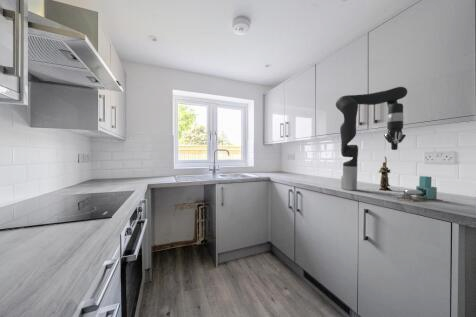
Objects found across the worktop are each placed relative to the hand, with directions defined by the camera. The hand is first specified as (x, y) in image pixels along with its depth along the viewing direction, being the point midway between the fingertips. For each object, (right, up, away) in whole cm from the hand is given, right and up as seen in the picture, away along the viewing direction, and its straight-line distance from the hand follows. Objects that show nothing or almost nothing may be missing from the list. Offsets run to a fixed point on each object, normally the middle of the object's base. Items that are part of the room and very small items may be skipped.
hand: (394, 149), depth 116 cm
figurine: (+15, -29, +26) cm, 42 cm away
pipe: (+10, -29, -5) cm, 31 cm away
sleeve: (+14, -28, -5) cm, 32 cm away
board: (+10, -29, -5) cm, 31 cm away
